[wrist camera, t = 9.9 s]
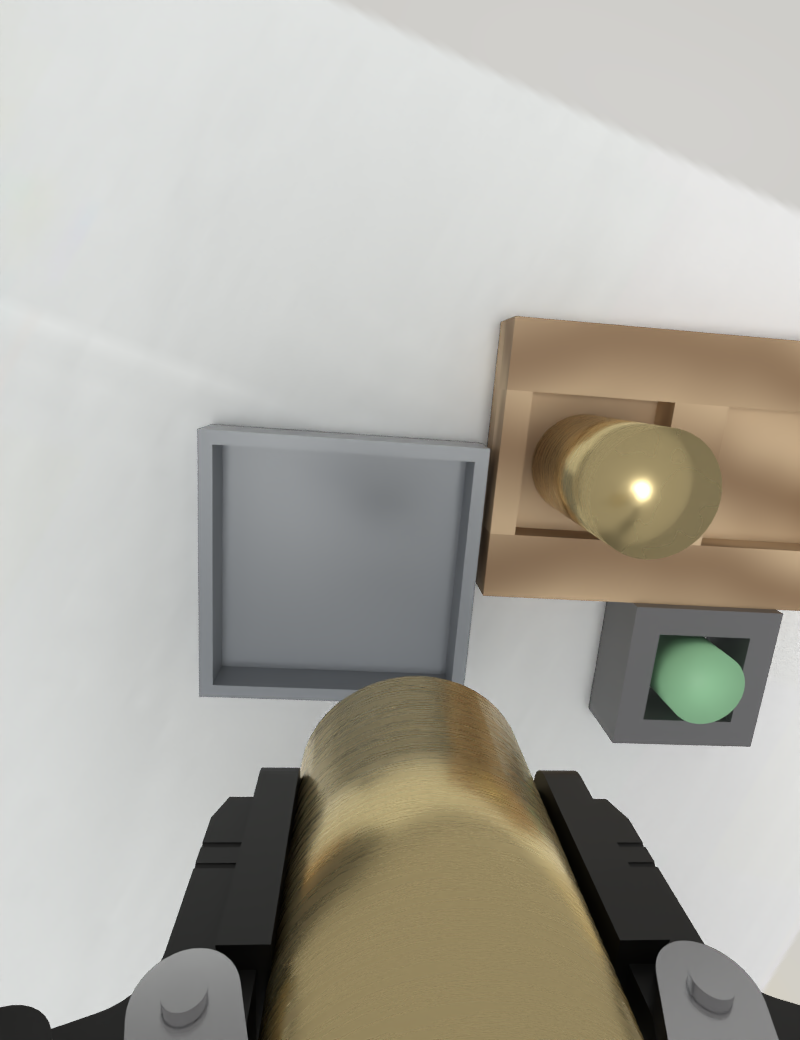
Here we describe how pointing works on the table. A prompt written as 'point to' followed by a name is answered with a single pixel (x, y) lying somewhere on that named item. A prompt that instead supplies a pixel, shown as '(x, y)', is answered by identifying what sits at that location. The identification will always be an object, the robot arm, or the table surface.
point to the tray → (333, 560)
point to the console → (630, 660)
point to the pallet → (659, 401)
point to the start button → (696, 678)
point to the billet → (431, 886)
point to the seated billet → (629, 482)
